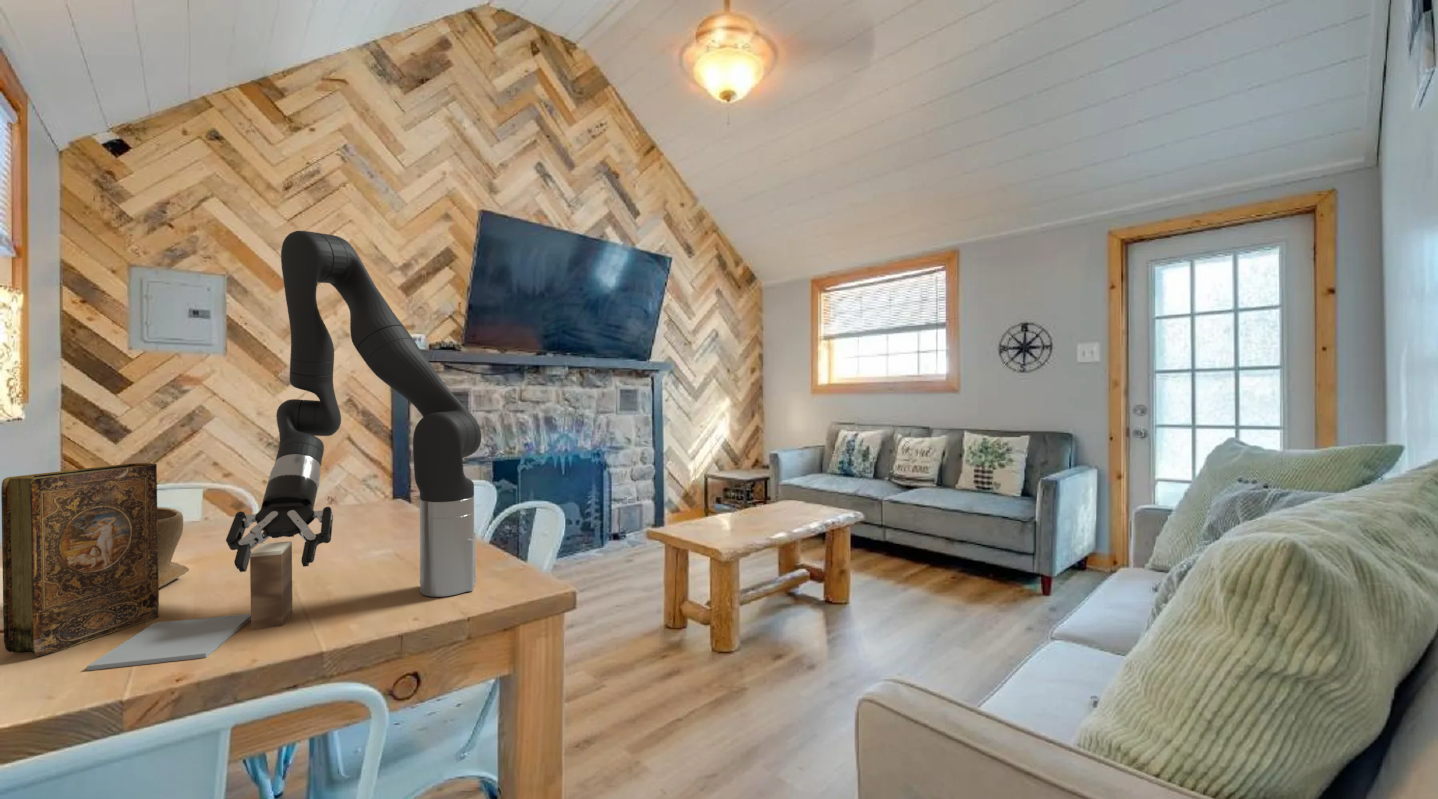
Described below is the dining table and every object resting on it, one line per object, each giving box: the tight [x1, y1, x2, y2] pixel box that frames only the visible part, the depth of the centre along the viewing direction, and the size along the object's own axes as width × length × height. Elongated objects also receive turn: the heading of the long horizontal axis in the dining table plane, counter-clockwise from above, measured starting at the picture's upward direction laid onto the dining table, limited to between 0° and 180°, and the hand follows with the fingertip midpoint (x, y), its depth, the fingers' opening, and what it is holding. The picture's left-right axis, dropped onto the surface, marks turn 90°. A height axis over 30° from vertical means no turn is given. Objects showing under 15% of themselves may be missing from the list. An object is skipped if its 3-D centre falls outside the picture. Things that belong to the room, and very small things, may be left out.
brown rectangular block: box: [249, 540, 293, 631], centre depth 96 cm, size 4×6×12 cm, turn 23°
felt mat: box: [86, 613, 251, 671], centre depth 88 cm, size 13×15×1 cm
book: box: [0, 462, 160, 657], centre depth 90 cm, size 16×6×25 cm, turn 168°
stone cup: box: [157, 506, 190, 589], centre depth 110 cm, size 15×12×15 cm
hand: (273, 566), depth 97 cm, fingers open, 8 cm apart
